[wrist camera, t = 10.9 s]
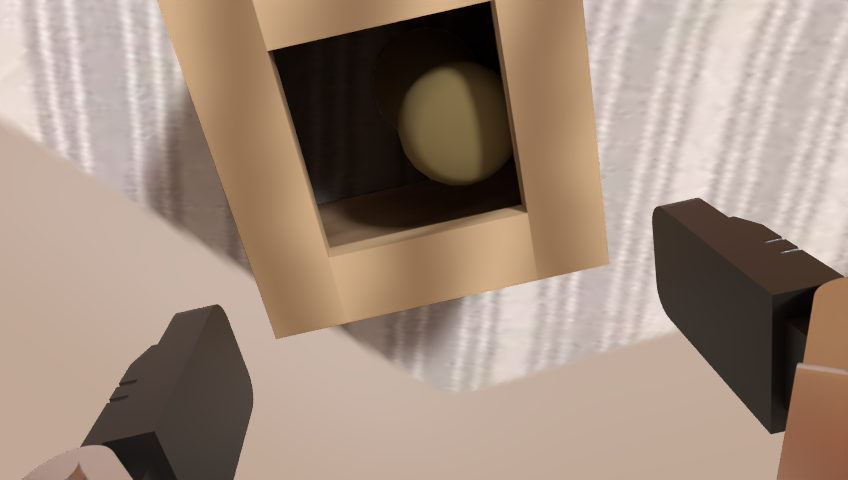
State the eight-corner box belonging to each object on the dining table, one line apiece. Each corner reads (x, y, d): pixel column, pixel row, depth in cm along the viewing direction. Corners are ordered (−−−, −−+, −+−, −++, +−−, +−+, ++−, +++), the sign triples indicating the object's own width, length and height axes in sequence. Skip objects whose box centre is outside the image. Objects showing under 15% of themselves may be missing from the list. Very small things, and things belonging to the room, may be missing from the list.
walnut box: (495, -85, 33) (570, -118, 21) (532, 173, 38) (609, 263, 26) (228, -24, 33) (149, -23, 21) (304, 224, 38) (276, 338, 26)
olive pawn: (422, 158, 37) (460, 233, 27) (349, 82, 35) (360, 133, 25) (501, 85, 36) (569, 136, 26) (430, 2, 34) (476, 22, 24)
